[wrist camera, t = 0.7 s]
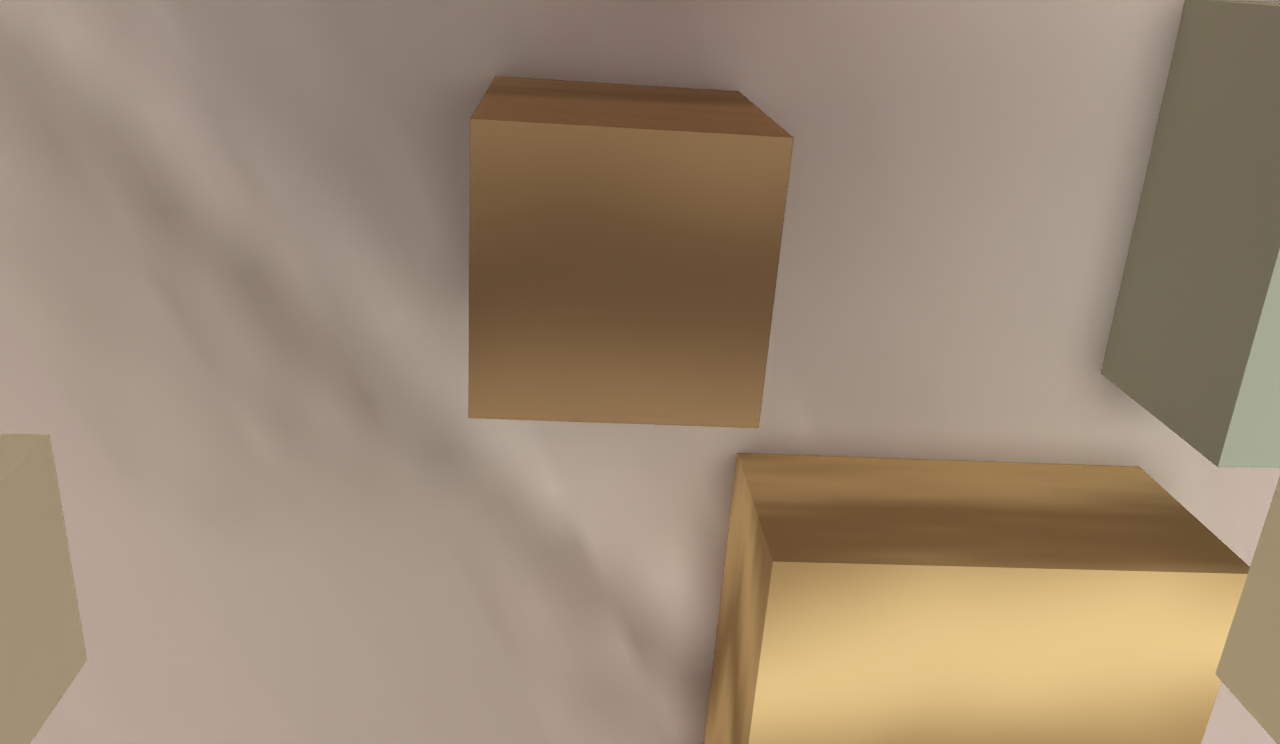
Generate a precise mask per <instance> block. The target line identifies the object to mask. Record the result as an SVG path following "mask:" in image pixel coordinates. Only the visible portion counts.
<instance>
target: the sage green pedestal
mask: <svg viewBox="0 0 1280 744" xmlns="http://www.w3.org/2000/svg"><path fill="white" fill-rule="evenodd" d="M1101 374H1103V375H1104V376H1105V377H1106V378H1108V379H1109V380H1110V381H1111V382H1113V383H1114V384H1115V385H1116V386H1118V387H1119V388H1120V389H1121V390H1123V391H1124V392H1125V393H1126V394H1127V395H1129V396H1130V397H1131V398H1132V399H1134V400H1135V401H1136V402H1137V403H1139V404H1140V405H1141V406H1142V407H1144V408H1145V409H1146V410H1147V411H1149V412H1150V413H1151V414H1152V415H1154V416H1155V417H1156V418H1157V419H1159V420H1160V421H1161V422H1162V423H1164V424H1165V425H1166V426H1167V427H1169V428H1170V429H1171V430H1172V431H1174V432H1175V433H1176V434H1177V435H1179V436H1180V437H1181V438H1182V439H1183V440H1185V441H1186V442H1187V443H1188V444H1190V445H1191V446H1192V447H1193V448H1195V449H1196V450H1197V451H1198V452H1200V453H1201V454H1202V455H1203V456H1205V457H1206V458H1207V459H1208V460H1210V461H1211V462H1212V463H1213V464H1215V465H1216V466H1217V467H1248V468H1280V3H1269V2H1248V1H1226V0H1185V4H1184V8H1183V12H1182V17H1181V21H1180V26H1179V30H1178V35H1177V39H1176V43H1175V48H1174V52H1173V57H1172V61H1171V66H1170V70H1169V74H1168V79H1167V83H1166V88H1165V92H1164V97H1163V101H1162V105H1161V110H1160V114H1159V119H1158V123H1157V128H1156V132H1155V136H1154V141H1153V145H1152V150H1151V154H1150V159H1149V163H1148V167H1147V172H1146V176H1145V181H1144V185H1143V190H1142V194H1141V198H1140V203H1139V207H1138V212H1137V216H1136V221H1135V225H1134V229H1133V234H1132V238H1131V243H1130V247H1129V252H1128V256H1127V260H1126V265H1125V269H1124V274H1123V278H1122V283H1121V287H1120V291H1119V296H1118V300H1117V305H1116V309H1115V314H1114V318H1113V322H1112V327H1111V331H1110V336H1109V340H1108V345H1107V349H1106V353H1105V358H1104V362H1103V367H1102V371H1101Z"/></svg>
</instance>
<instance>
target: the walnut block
mask: <svg viewBox="0 0 1280 744" xmlns="http://www.w3.org/2000/svg"><path fill="white" fill-rule="evenodd" d="M792 146H793V137H792V136H791V135H790V134H788V133H787V132H786V131H785V130H784V129H782V128H781V127H780V126H779V125H778V124H776V123H775V122H774V121H773V120H772V119H771V118H769V117H768V116H767V115H766V114H765V113H763V112H762V111H761V110H760V109H759V108H757V107H756V106H755V105H754V104H753V103H751V102H750V101H749V100H748V99H747V98H746V97H744V96H743V95H742V94H741V93H740V92H738V91H722V90H706V89H690V88H674V87H658V86H642V85H625V84H609V83H593V82H577V81H561V80H545V79H529V78H513V77H497V76H496V77H495V79H494V80H493V82H492V84H491V85H490V87H489V89H488V90H487V92H486V94H485V95H484V97H483V99H482V100H481V102H480V104H479V105H478V107H477V109H476V110H475V112H474V114H473V115H472V117H471V119H470V249H469V406H468V418H487V419H515V420H543V421H572V422H600V423H628V424H656V425H685V426H713V427H741V428H759V420H760V412H761V404H762V395H763V387H764V379H765V371H766V362H767V354H768V346H769V337H770V329H771V321H772V312H773V304H774V296H775V287H776V279H777V271H778V263H779V254H780V246H781V238H782V229H783V221H784V213H785V204H786V196H787V188H788V179H789V171H790V163H791V155H792Z"/></svg>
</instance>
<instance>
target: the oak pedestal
mask: <svg viewBox="0 0 1280 744" xmlns="http://www.w3.org/2000/svg"><path fill="white" fill-rule="evenodd" d="M1249 569H1250V567H1249V566H1248V565H1247V564H1246V563H1245V562H1244V561H1243V560H1241V559H1240V558H1239V557H1238V556H1237V555H1236V554H1235V553H1234V552H1233V551H1232V550H1230V549H1229V548H1228V547H1227V546H1226V545H1225V544H1224V543H1223V542H1222V541H1221V540H1219V539H1218V538H1217V537H1216V536H1215V535H1214V534H1213V533H1212V532H1211V531H1210V530H1208V529H1207V528H1206V527H1205V526H1204V525H1203V524H1202V523H1201V522H1200V521H1198V520H1197V519H1196V518H1195V517H1194V516H1193V515H1192V514H1191V513H1190V512H1189V511H1187V510H1186V509H1185V508H1184V507H1183V506H1182V505H1181V504H1180V503H1179V502H1178V501H1176V500H1175V499H1174V498H1173V497H1172V496H1171V495H1170V494H1169V493H1168V492H1167V491H1165V490H1164V489H1163V488H1162V487H1161V486H1160V485H1159V484H1158V483H1157V482H1156V481H1154V480H1153V479H1152V478H1151V477H1150V476H1149V475H1148V474H1147V473H1146V472H1145V471H1143V470H1142V469H1141V468H1140V467H1130V466H1101V465H1072V464H1043V463H1014V462H985V461H956V460H927V459H898V458H869V457H840V456H811V455H782V454H753V453H737V460H736V469H735V477H734V486H733V495H732V504H731V512H730V521H729V530H728V539H727V548H726V556H725V565H724V574H723V583H722V591H721V600H720V609H719V618H718V626H717V635H716V644H715V653H714V661H713V670H712V679H711V688H710V697H709V705H708V714H707V723H706V732H705V740H704V744H1201V741H1202V738H1203V735H1204V732H1205V729H1206V726H1207V723H1208V720H1209V718H1210V715H1211V712H1212V709H1213V706H1214V703H1215V700H1216V697H1217V694H1218V691H1219V688H1220V685H1221V682H1222V681H1221V680H1220V679H1219V678H1218V676H1217V675H1216V674H1215V673H1216V670H1217V667H1218V664H1219V661H1220V658H1221V655H1222V652H1223V649H1224V646H1225V642H1226V639H1227V636H1228V633H1229V630H1230V627H1231V624H1232V621H1233V618H1234V615H1235V612H1236V609H1237V606H1238V603H1239V600H1240V597H1241V594H1242V590H1243V587H1244V584H1245V581H1246V578H1247V575H1248V572H1249Z"/></svg>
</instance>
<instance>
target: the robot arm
mask: <svg viewBox="0 0 1280 744" xmlns="http://www.w3.org/2000/svg"><path fill="white" fill-rule="evenodd" d="M86 661H87V656H86V650H85V644H84V638H83V632H82V626H81V620H80V614H79V608H78V602H77V596H76V590H75V584H74V578H73V571H72V565H71V559H70V553H69V547H68V541H67V535H66V529H65V523H64V517H63V511H62V505H61V499H60V493H59V487H58V481H57V474H56V468H55V462H54V456H53V450H52V444H51V438H50V435H33V434H0V744H30V743H31V741H32V740H33V738H34V737H35V735H36V734H37V732H38V731H39V730H40V728H41V727H42V725H43V724H44V722H45V721H46V719H47V718H48V716H49V715H50V713H51V712H52V711H53V709H54V708H55V706H56V705H57V703H58V702H59V700H60V699H61V697H62V696H63V694H64V693H65V691H66V690H67V689H68V687H69V686H70V684H71V683H72V681H73V680H74V678H75V677H76V675H77V674H78V672H79V671H80V670H81V668H82V667H83V665H84V664H85V662H86ZM1215 674H1216V675H1217V676H1218V678H1219V679H1220V680H1221V681H1222V682H1223V683H1224V684H1225V685H1226V687H1227V688H1228V689H1229V690H1230V691H1231V692H1232V693H1233V694H1234V696H1235V697H1236V698H1237V699H1238V700H1239V701H1240V702H1241V703H1242V705H1243V706H1244V707H1245V708H1246V709H1247V710H1248V711H1249V712H1250V714H1251V715H1252V716H1253V717H1254V718H1255V719H1256V720H1257V721H1258V723H1259V724H1260V725H1261V726H1262V727H1263V728H1264V729H1265V730H1266V732H1267V733H1268V734H1269V735H1270V736H1271V737H1272V738H1273V739H1274V741H1275V742H1276V743H1277V744H1280V477H1279V480H1278V483H1277V486H1276V490H1275V493H1274V496H1273V499H1272V502H1271V505H1270V508H1269V511H1268V514H1267V517H1266V520H1265V523H1264V526H1263V529H1262V532H1261V535H1260V538H1259V542H1258V545H1257V548H1256V551H1255V554H1254V557H1253V560H1252V563H1251V566H1250V569H1249V572H1248V575H1247V578H1246V581H1245V584H1244V587H1243V590H1242V594H1241V597H1240V600H1239V603H1238V606H1237V609H1236V612H1235V615H1234V618H1233V621H1232V624H1231V627H1230V630H1229V633H1228V636H1227V639H1226V642H1225V646H1224V649H1223V652H1222V655H1221V658H1220V661H1219V664H1218V667H1217V670H1216V673H1215Z"/></svg>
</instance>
